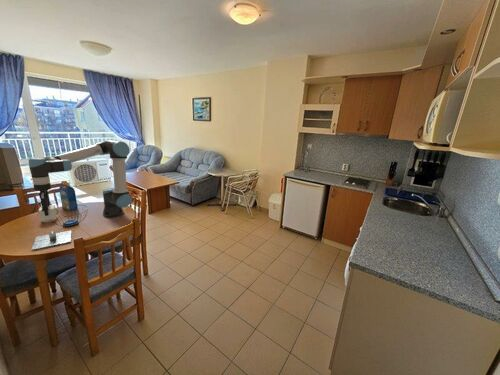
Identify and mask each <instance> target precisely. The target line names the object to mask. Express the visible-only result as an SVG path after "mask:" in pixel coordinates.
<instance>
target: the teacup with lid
mask: <svg viewBox="0 0 500 375" xmlns="http://www.w3.org/2000/svg"><path fill="white" fill-rule="evenodd" d="M55 209H56V214H57V215H59V209H57V208H55ZM57 219H58V218H57V217H56V219H51V220H45V221H41V222H42V223H52V222H54V221H56V220H57Z"/></svg>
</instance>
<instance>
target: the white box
mask: <svg viewBox="0 0 500 375" xmlns="http://www.w3.org/2000/svg"><path fill="white" fill-rule="evenodd" d="M48 209H49V211H50V216H51V219H56V218H57V215H58V214H56V213H57V210H56V209H57V208H56V205H50V206H48ZM41 210H42V206H40V207H39V209H38V210H37V211H38V214H39V220H40V222H42V221H45V218H44V213H43V211H41ZM56 220H57V219H56Z"/></svg>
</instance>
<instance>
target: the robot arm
mask: <svg viewBox="0 0 500 375" xmlns="http://www.w3.org/2000/svg"><path fill="white" fill-rule="evenodd" d="M130 152H131V150H130V146H129V144H128V143H126V142H125V141H122V140H115V139H107V140H103V141H99V142H96V143H94V145H90V146H87V147H83V148H79V149H76V150H71V151H68V152H65V153H60V154H57V155H53V156H45V157H32V158H29V159H28V167H29V171H30V174H31V178H30V180H31V181H32V184H33V189H34V191H37V192H38V191H39V193H38V196H39V200H40V205H41V206H40V207H42V210H41V211H43V213H44V218H45V220H51V216H50V211H49V209H48V206H53V205H52V203H51V200H50V195H49V194H50V193H49V190H51V189H52V185H51V183H50V182H51V179H50V174H52V173H62V172H63V173H64V172H69V171H71V170H72V169H73V165H72V163H76V162H79V161H82V160H85V159H89V158H92V157H96V156H103V155H104V156H105V155H109V159H111V161H112V170H113V172H112V173H113V185H114V186H113V187H112V188H111V187H110V188H105V189H104V190H102V196H103V197H102V198H103V206H104V208H103V211H102V215H103V217H105V218H115V217H119V216H121V215H123V214H124V208H126V207H129V206H130V205H131V203H132V201H133V197H132V195H130V190H129V189H128V188H127V186H128V185H127V172H126V160H127V159H128V155H129V154H130Z"/></svg>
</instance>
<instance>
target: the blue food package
mask: <svg viewBox="0 0 500 375" xmlns="http://www.w3.org/2000/svg"><path fill="white" fill-rule="evenodd" d="M58 190H59V191H58V192H59V197H60V202H61V206H62V209H64V210H66V211H70V212H72V211H75V210H78V209H79V208H78V202H77V196H76V190H75V188H74V187H72V186H71V184H70V182H67V181H64V180H61V185H60V186H59V189H58Z"/></svg>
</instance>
